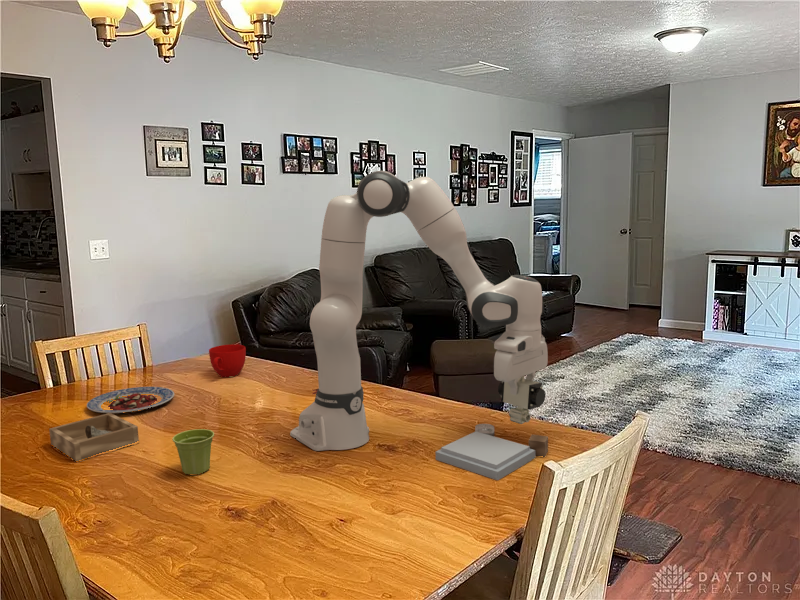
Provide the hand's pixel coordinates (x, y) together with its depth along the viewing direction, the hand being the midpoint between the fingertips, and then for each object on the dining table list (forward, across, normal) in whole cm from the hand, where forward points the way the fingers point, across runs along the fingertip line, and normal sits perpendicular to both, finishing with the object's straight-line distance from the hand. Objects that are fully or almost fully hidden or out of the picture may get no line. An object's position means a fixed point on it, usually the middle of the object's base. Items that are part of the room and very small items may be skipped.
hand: (521, 391), depth 166 cm
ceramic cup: (+16, +15, -114) cm, 116 cm away
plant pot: (+15, +65, -48) cm, 83 cm away
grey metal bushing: (+13, +4, -8) cm, 16 cm away
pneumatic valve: (+8, +1, 0) cm, 8 cm away
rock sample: (+15, +73, -83) cm, 112 cm away
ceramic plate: (+17, +52, -110) cm, 123 cm away
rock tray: (+16, +74, -84) cm, 113 cm away
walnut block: (+13, +5, +9) cm, 16 cm away
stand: (+13, +16, +1) cm, 21 cm away
